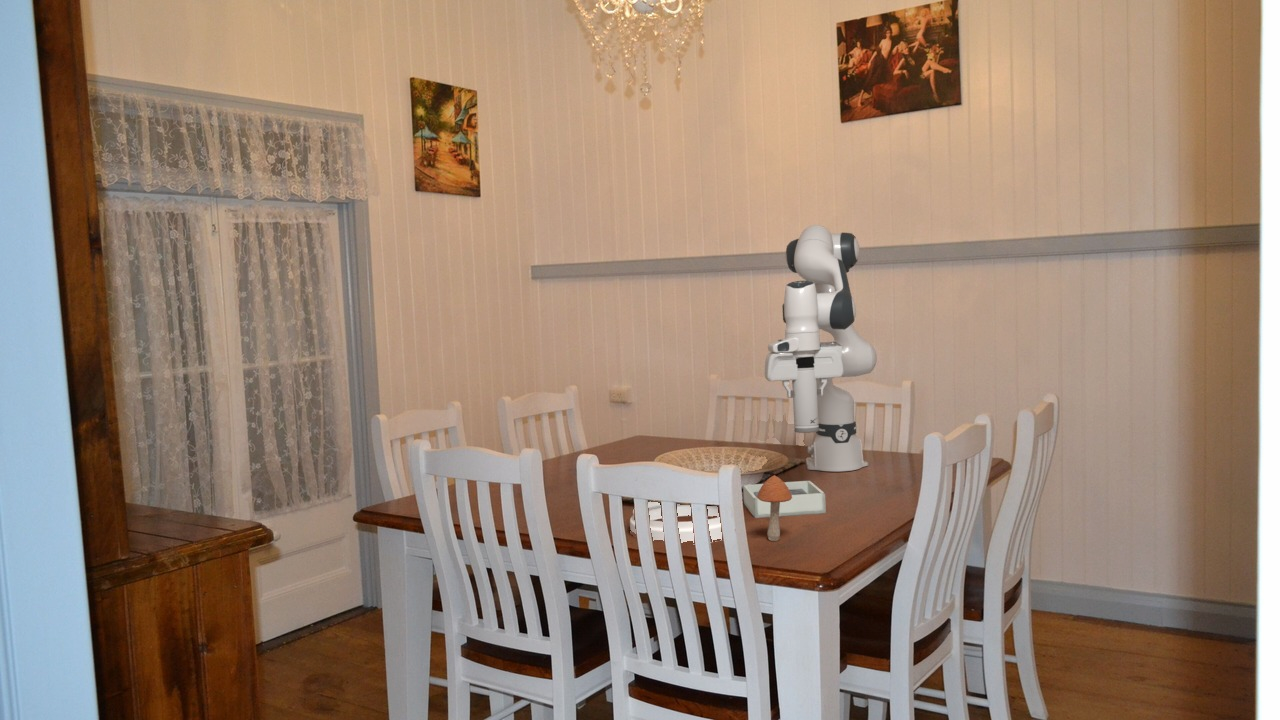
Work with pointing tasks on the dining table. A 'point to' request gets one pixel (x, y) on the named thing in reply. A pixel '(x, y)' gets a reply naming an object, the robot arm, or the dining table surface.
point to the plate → (684, 527)
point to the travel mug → (805, 397)
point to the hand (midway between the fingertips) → (805, 396)
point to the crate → (802, 502)
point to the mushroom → (774, 503)
